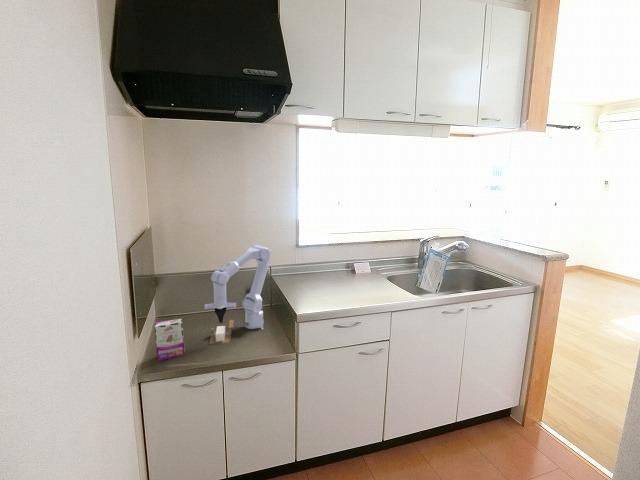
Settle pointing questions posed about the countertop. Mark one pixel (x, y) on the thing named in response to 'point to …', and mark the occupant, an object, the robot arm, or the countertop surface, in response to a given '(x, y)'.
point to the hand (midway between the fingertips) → (221, 321)
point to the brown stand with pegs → (213, 341)
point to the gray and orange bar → (237, 324)
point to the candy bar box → (169, 339)
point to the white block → (220, 333)
